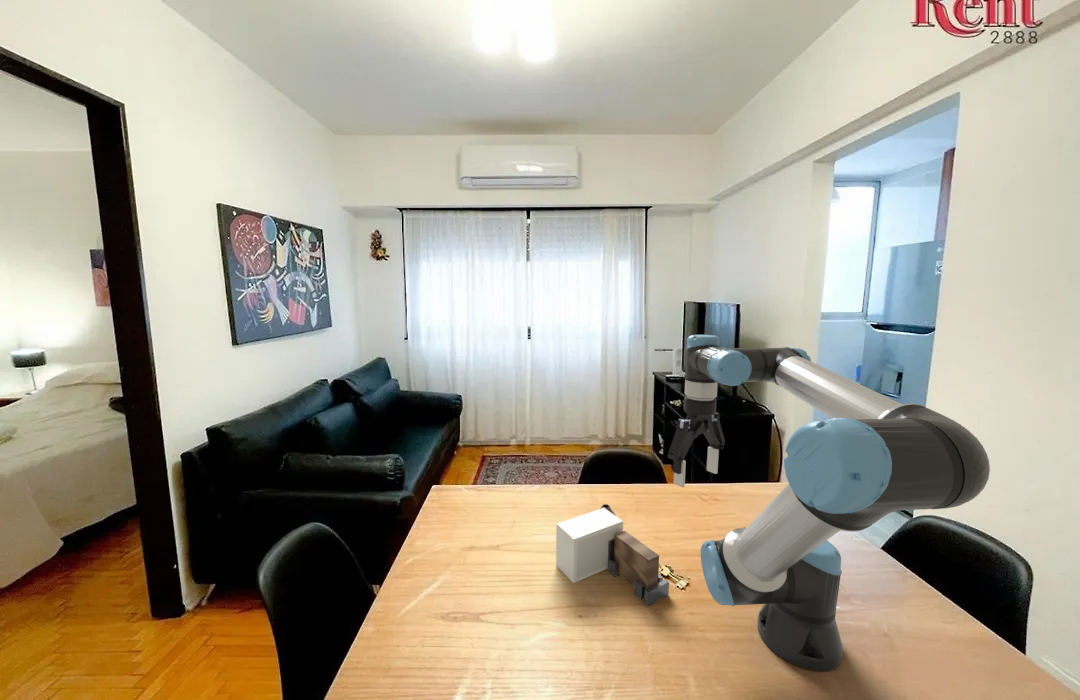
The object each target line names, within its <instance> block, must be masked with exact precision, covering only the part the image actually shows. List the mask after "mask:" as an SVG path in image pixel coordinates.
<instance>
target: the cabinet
mask: <svg viewBox="0 0 1080 700" xmlns="http://www.w3.org/2000/svg"><path fill="white" fill-rule="evenodd" d="M615 515H616V514H615ZM615 515H614V514H612V513H611V512H609V511H608V510H606V509H605V508H602V509H600V508H598V509H596V510H593V511H590V512H587V513H584V514H581V515H578V516H575V517H573V518H569V519H567V520H564V521H561V522H558V523H556V525H555V527H556V529H555V530H556V532H555V533H556V537H555V539H556V542H555V544H556V547H555V552H556V553H555V562H556V563H555V566H556V567H557V568H558V569H559V570H560V571H561V572H562V573H563V574H564V575H565V576H566V577H567V578H568V580H569V581H570V582H572V583H573V584H576V583H578V582H580V581H582V580H584V579H587V578H590V577H592V576H594V575H596V574H599V573H600V572H604V571H605V570H608V541H609V540H612V539H615V534H618V533H620V532H623V531H624V521H623V520H622V519H621V518H619V517H618V516H617V515H616V516H615Z"/></svg>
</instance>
